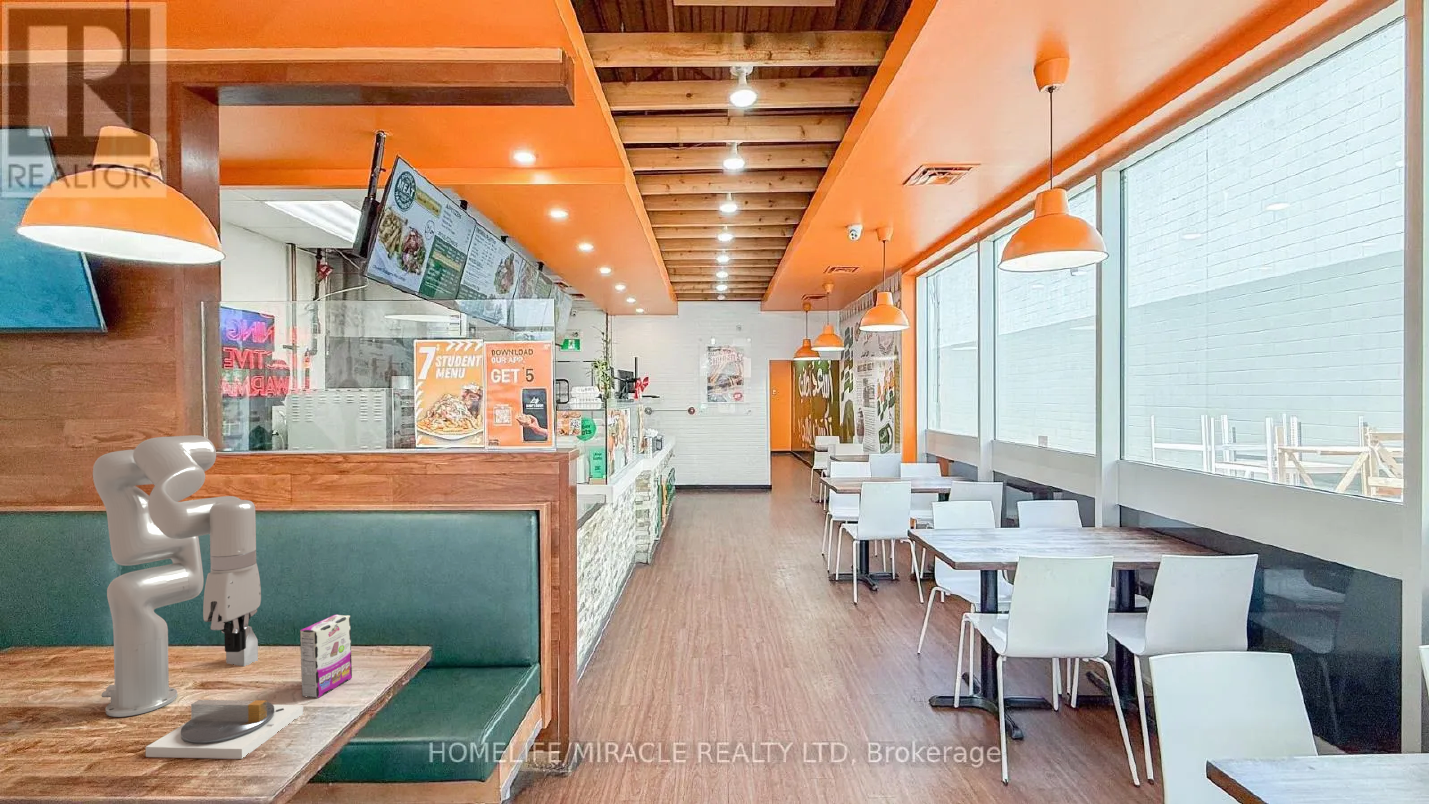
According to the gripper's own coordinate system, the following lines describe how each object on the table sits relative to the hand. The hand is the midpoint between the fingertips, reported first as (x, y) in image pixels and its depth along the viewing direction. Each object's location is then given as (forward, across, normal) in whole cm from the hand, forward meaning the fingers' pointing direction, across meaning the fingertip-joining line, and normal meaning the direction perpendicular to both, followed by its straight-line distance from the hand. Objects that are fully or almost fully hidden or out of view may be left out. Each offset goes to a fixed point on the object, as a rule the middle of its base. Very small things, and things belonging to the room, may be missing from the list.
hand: (235, 650), depth 132 cm
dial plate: (+20, -6, -6) cm, 22 cm away
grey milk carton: (+20, -42, -32) cm, 57 cm away
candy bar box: (+21, -28, +1) cm, 35 cm away
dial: (+18, -6, -6) cm, 20 cm away
